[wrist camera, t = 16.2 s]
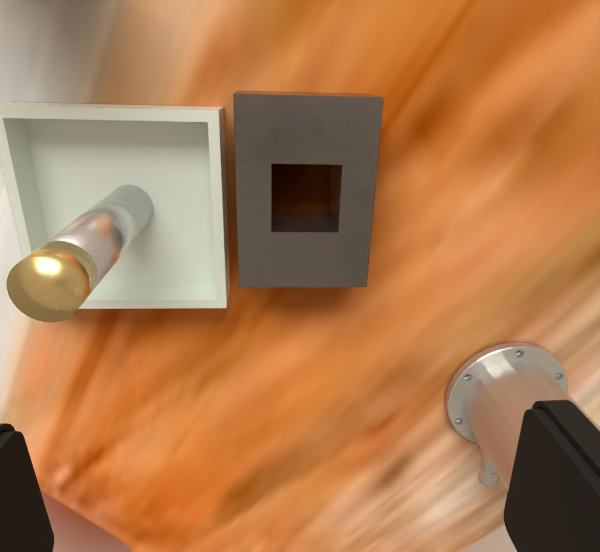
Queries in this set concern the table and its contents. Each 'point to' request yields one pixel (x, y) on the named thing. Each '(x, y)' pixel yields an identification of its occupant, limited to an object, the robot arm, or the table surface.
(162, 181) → the tray
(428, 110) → the table surface
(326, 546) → the table surface
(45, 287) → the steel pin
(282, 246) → the hitch block
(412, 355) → the table surface
